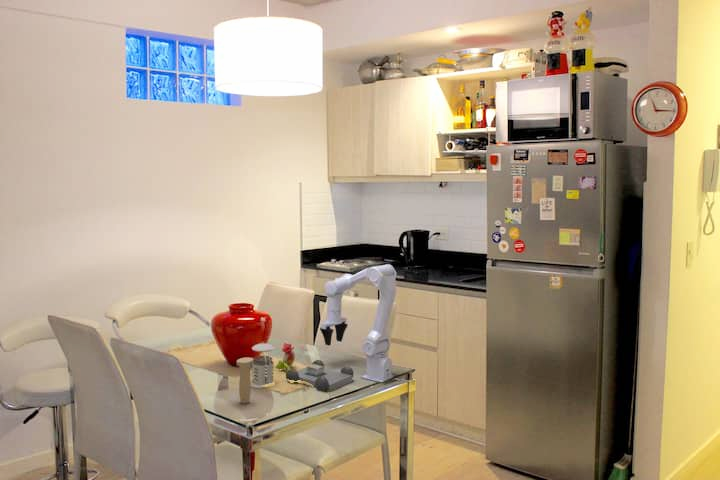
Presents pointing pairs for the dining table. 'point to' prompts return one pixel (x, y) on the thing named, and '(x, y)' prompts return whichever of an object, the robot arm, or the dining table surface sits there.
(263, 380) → the french press
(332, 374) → the chassis
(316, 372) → the beige block
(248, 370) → the handle
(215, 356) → the dining table surface
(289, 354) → the bird rattle
